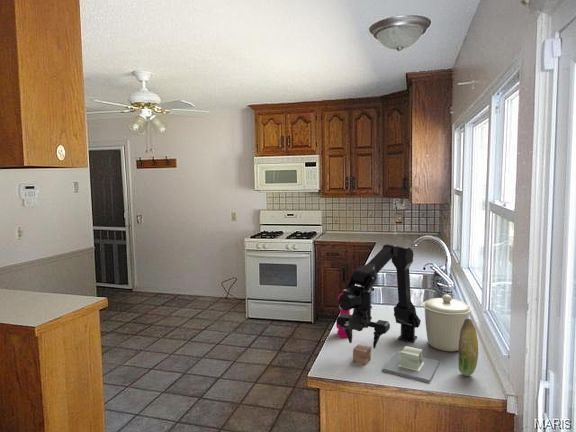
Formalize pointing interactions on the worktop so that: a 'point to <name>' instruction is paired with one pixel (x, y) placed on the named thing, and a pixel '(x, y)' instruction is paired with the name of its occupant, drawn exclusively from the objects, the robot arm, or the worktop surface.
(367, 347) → the walnut block
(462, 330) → the vegetable
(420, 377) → the build board
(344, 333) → the pepper mill
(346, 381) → the worktop surface
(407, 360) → the green block
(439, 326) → the canister
